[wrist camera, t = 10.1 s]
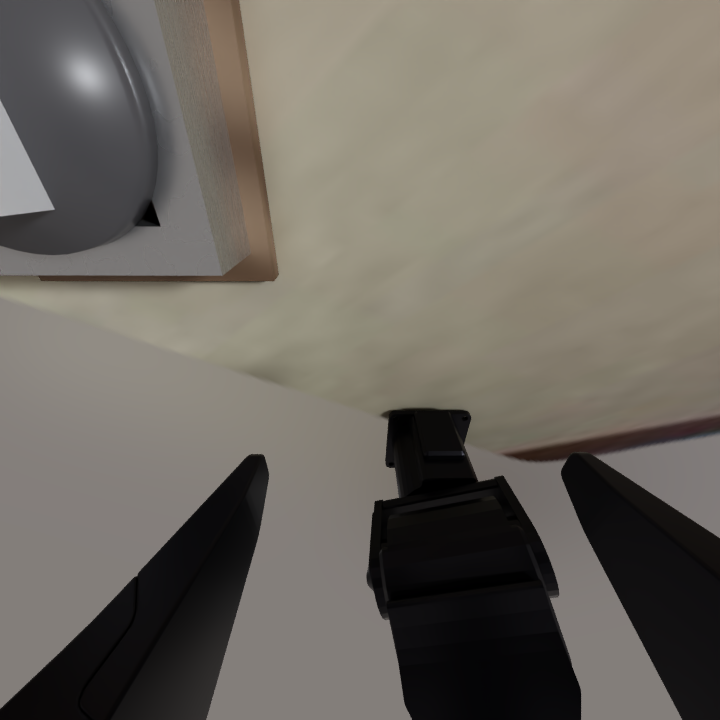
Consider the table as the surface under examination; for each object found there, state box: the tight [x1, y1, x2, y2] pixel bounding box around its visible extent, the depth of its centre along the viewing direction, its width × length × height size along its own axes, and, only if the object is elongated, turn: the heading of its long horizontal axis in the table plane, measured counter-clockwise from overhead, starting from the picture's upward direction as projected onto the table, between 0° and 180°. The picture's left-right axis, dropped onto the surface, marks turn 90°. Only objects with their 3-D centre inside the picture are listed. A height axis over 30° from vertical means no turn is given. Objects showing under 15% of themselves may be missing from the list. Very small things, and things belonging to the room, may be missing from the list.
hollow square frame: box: [0, 0, 251, 276], centre depth 11 cm, size 11×11×4 cm
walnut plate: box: [38, 0, 279, 281], centre depth 13 cm, size 14×13×1 cm
